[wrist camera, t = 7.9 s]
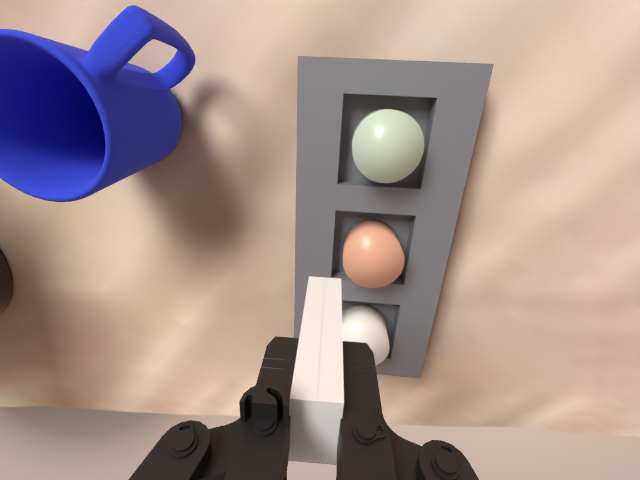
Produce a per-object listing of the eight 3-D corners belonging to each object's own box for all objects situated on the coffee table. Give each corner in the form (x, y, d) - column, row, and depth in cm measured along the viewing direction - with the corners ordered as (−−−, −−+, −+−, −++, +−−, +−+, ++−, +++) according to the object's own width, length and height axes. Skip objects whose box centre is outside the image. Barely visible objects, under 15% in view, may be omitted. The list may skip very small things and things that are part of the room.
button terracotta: (341, 266, 27) (340, 285, 24) (345, 217, 25) (345, 231, 22) (394, 270, 26) (399, 290, 24) (402, 221, 25) (409, 236, 22)
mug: (254, 96, 24) (197, 94, 15) (150, 186, 27) (52, 229, 18) (175, -11, 22) (50, -92, 12) (73, 103, 25) (-82, 105, 16)
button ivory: (335, 341, 30) (334, 365, 27) (338, 302, 28) (337, 324, 25) (382, 345, 30) (385, 370, 27) (388, 306, 28) (393, 328, 25)
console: (298, 344, 33) (293, 366, 31) (303, 61, 23) (298, 56, 20) (414, 354, 33) (420, 378, 30) (475, 68, 22) (493, 64, 19)
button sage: (349, 171, 23) (349, 181, 21) (354, 106, 22) (355, 108, 19) (409, 175, 23) (417, 185, 20) (419, 110, 21) (430, 111, 19)
